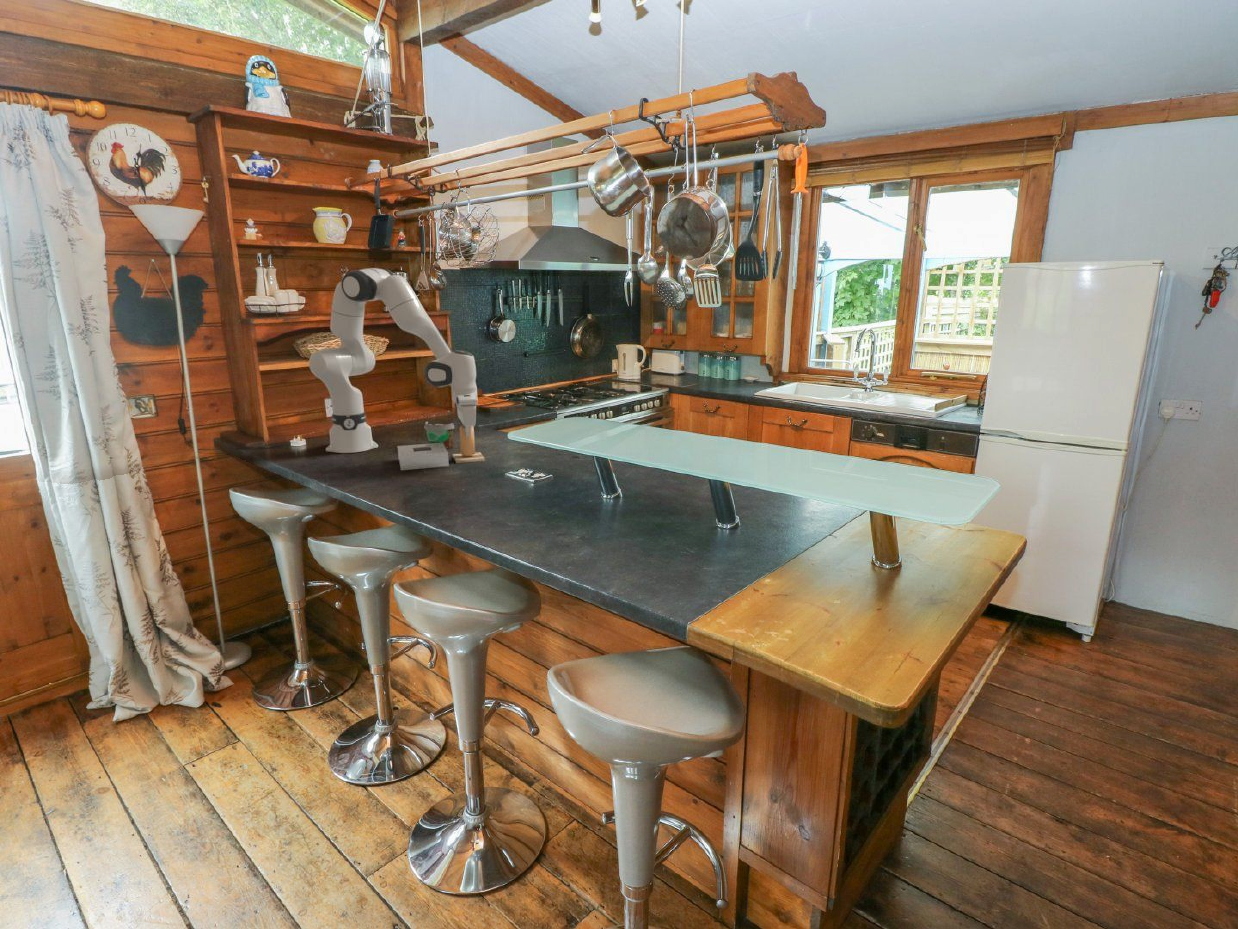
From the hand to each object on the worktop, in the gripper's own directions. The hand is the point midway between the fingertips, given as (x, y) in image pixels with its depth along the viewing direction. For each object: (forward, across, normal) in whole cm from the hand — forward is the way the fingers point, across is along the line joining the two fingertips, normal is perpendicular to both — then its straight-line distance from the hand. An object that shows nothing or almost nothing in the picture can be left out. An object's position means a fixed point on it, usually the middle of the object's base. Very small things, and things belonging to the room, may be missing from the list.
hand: (467, 434), depth 241 cm
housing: (+9, 0, -16) cm, 18 cm away
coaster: (+9, 0, 0) cm, 9 cm away
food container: (+9, -20, -9) cm, 24 cm away
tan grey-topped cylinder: (+7, 0, 0) cm, 7 cm away
